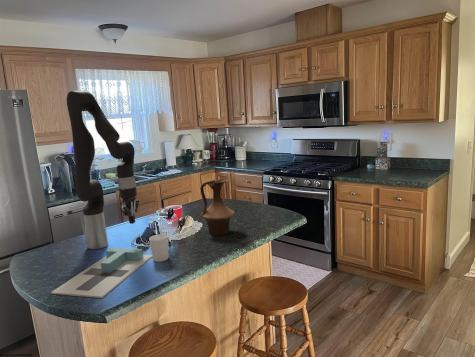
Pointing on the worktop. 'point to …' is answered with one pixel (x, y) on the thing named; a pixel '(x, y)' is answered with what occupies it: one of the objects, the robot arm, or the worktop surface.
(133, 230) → the worktop surface
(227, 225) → the pitcher
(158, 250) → the white cup
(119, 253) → the t block
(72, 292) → the mat
